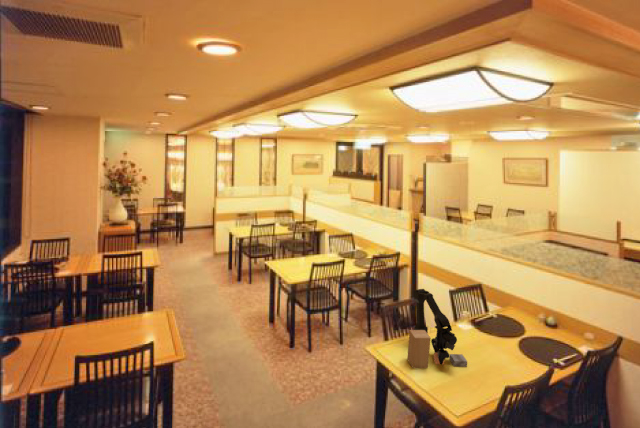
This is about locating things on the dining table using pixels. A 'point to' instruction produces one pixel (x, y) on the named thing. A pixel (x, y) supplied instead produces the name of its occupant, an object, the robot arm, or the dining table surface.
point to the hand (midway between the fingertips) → (438, 360)
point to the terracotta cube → (437, 359)
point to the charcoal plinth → (458, 360)
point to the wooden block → (418, 348)
